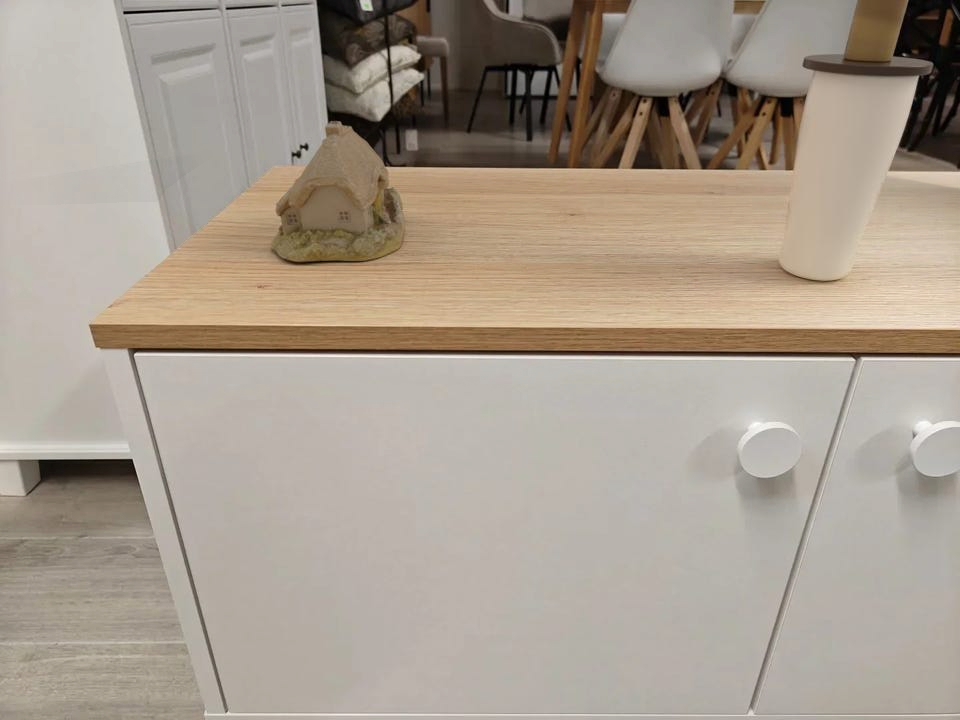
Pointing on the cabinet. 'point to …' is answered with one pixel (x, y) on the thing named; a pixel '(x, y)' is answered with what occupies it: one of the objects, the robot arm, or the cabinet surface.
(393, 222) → the ceramic model
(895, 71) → the lid
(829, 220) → the drinking glass
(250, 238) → the cabinet surface
